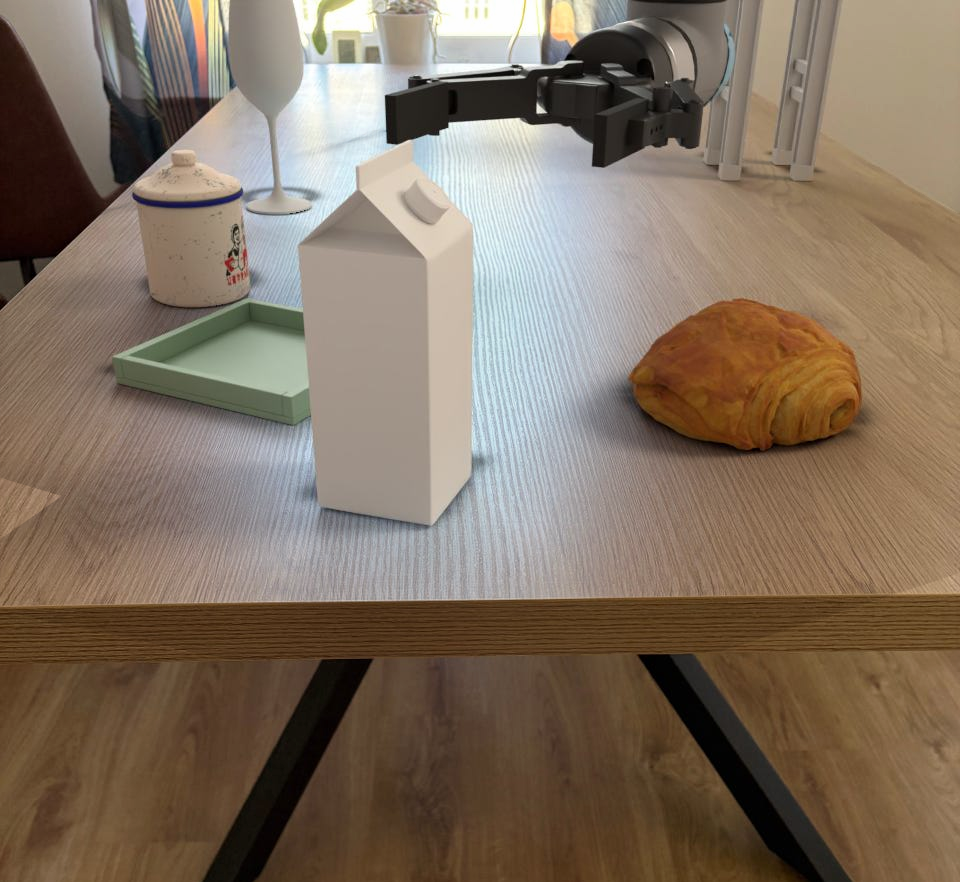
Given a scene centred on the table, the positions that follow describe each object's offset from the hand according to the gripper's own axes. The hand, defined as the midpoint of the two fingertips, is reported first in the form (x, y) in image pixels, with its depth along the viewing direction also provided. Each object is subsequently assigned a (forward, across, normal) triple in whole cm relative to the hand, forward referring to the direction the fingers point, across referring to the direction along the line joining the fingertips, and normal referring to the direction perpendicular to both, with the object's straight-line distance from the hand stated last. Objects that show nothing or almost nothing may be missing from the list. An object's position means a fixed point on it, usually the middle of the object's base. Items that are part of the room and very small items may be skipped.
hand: (490, 130), depth 65 cm
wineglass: (-42, +48, -18) cm, 67 cm away
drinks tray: (-1, +19, -18) cm, 26 cm away
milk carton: (+12, 0, -18) cm, 22 cm away
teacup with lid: (-14, +36, -18) cm, 43 cm away
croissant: (-10, -14, -19) cm, 25 cm away
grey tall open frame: (-88, +7, -19) cm, 91 cm away
